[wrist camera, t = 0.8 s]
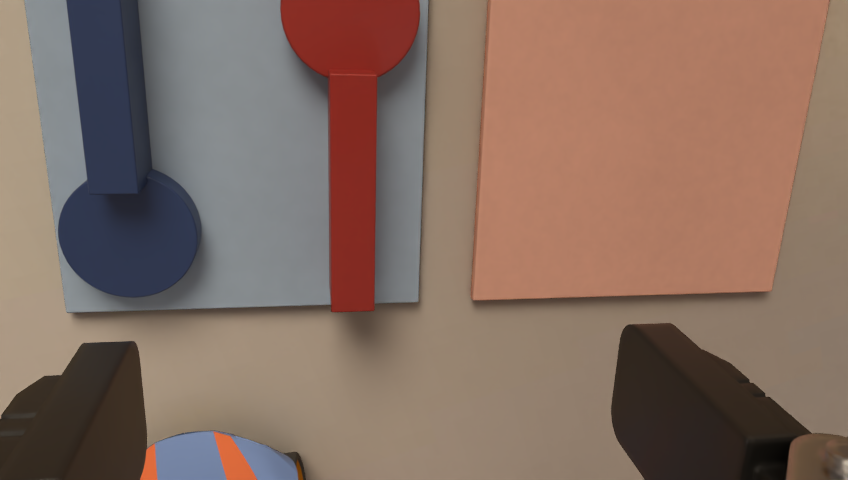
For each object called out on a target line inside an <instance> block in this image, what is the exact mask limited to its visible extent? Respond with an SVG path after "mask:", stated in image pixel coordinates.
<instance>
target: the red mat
mask: <svg viewBox="0 0 848 480" xmlns="http://www.w3.org/2000/svg"><path fill="white" fill-rule="evenodd" d="M829 2H830V0H488V8H487V25H486V42H485V59H484V76H483V93H482V110H481V127H480V144H479V162H478V179H477V196H476V213H475V230H474V247H473V264H472V281H471V298H472V300H505V299H538V298H570V297H603V296H636V295H669V294H702V293H735V292H768V291H772V286H773V281H774V276H775V271H776V266H777V261H778V256H779V251H780V246H781V241H782V236H783V231H784V226H785V221H786V216H787V211H788V206H789V201H790V196H791V192H792V187H793V182H794V177H795V172H796V167H797V162H798V157H799V152H800V147H801V142H802V137H803V132H804V127H805V122H806V117H807V112H808V107H809V102H810V97H811V92H812V87H813V82H814V77H815V72H816V67H817V62H818V57H819V52H820V47H821V42H822V37H823V32H824V27H825V22H826V17H827V12H828V7H829Z"/></svg>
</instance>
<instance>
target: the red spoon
mask: <svg viewBox="0 0 848 480" xmlns="http://www.w3.org/2000/svg"><path fill="white" fill-rule="evenodd" d="M280 13H281V21H282V26H283V30H284V32H285V35H286V38H287V40H288V42H289V44H290V46H291V48H292V49H293V50H294V52H295V53H296V55H297V56H298V57H299V58H300V59H301V61H302V62H303V63H305V64H306V65H307V66H308V67H309V68H311V69H312V70H313V71H315V72H316V73H318V74H320V75H322V76H324V77H326V78H328V183H329V288H330V301H331V311H332V312H357V311H374V302H375V225H376V147H377V78H378V77H380V76H382V75H384V74H386V73H387V72H389V71H390V70H392V69H393V68H394V67H395V66H397V65H398V64H399V63H400V62H401V61H402V60H403V58H404V57H405V56H406V54H407V53H408V52H409V50H410V48H411V46H412V44H413V42H414V40H415V37H416V35H417V31H418V27H419V21H420V2H419V0H281V2H280Z"/></svg>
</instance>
